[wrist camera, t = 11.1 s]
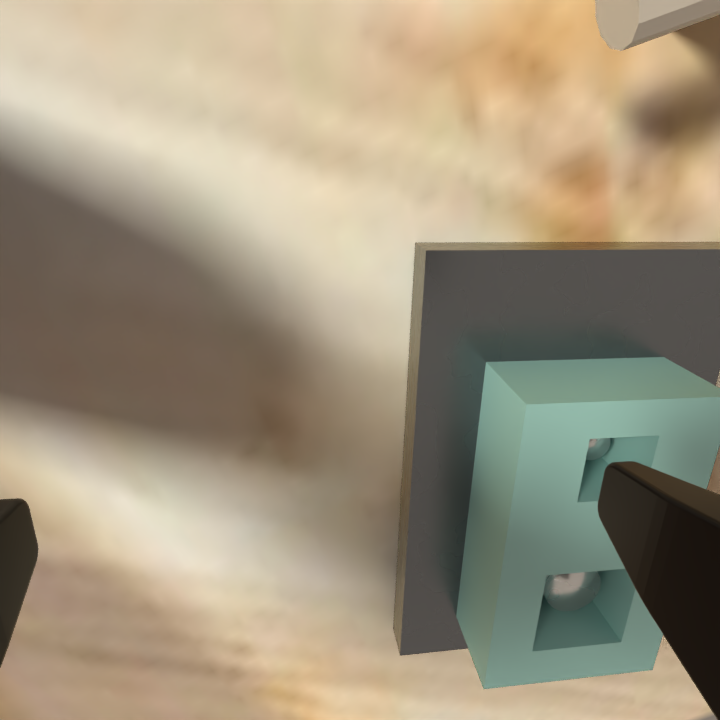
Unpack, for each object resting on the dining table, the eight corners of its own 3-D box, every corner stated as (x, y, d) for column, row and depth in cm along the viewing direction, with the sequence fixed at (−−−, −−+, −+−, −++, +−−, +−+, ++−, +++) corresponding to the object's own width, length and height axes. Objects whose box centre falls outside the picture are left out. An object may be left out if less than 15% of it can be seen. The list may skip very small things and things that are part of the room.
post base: (393, 628, 26) (412, 708, 22) (415, 242, 20) (447, 266, 16) (628, 604, 28) (682, 676, 24) (722, 242, 21) (816, 263, 17)
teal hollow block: (604, 602, 25) (652, 669, 22) (456, 616, 24) (483, 689, 21) (663, 357, 21) (734, 396, 18) (485, 361, 20) (526, 404, 17)
